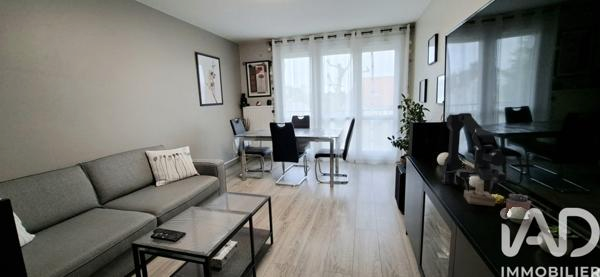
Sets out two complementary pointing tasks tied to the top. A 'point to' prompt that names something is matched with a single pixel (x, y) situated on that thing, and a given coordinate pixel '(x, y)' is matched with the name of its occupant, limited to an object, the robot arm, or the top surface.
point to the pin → (479, 189)
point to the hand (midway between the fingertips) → (479, 192)
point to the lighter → (517, 202)
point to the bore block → (479, 198)
